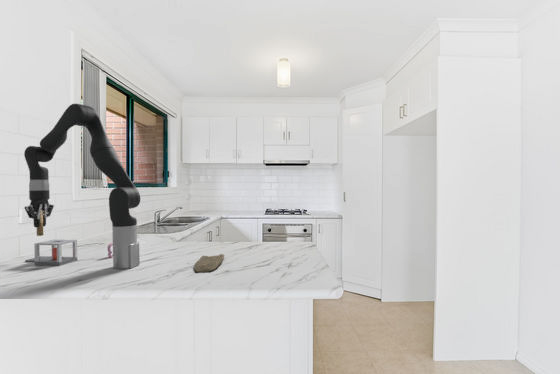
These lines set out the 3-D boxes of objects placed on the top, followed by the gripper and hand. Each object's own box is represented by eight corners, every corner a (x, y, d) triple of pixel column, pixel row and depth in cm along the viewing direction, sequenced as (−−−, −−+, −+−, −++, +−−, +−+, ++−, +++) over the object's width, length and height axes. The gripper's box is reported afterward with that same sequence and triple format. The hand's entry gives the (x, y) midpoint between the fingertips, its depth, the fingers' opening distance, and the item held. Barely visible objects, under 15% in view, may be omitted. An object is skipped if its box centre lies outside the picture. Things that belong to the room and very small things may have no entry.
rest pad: (55, 258, 152) (55, 256, 152) (40, 262, 144) (40, 260, 144) (40, 257, 153) (40, 256, 153) (25, 261, 145) (25, 260, 145)
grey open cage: (77, 260, 147) (76, 239, 147) (59, 265, 137) (59, 243, 137) (54, 259, 149) (53, 239, 149) (34, 265, 139) (34, 243, 139)
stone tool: (201, 259, 147) (189, 274, 123) (200, 252, 147) (189, 267, 122) (224, 258, 148) (218, 273, 123) (224, 252, 148) (218, 266, 123)
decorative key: (132, 255, 169) (109, 258, 150) (130, 255, 169) (106, 258, 150) (133, 242, 170) (110, 243, 151) (131, 242, 170) (107, 243, 151)
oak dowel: (44, 235, 150) (44, 209, 150) (40, 235, 147) (39, 209, 147) (40, 235, 150) (39, 209, 150) (35, 235, 147) (34, 209, 147)
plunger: (62, 261, 144) (62, 247, 144) (56, 263, 141) (56, 248, 141) (56, 261, 145) (56, 247, 145) (50, 263, 142) (50, 248, 142)
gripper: (33, 189, 141) (33, 228, 141) (58, 189, 155) (59, 225, 155) (18, 190, 142) (18, 228, 142) (45, 189, 156) (45, 224, 156)
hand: (40, 226), depth 149 cm, fingers closed on oak dowel, 2 cm apart
